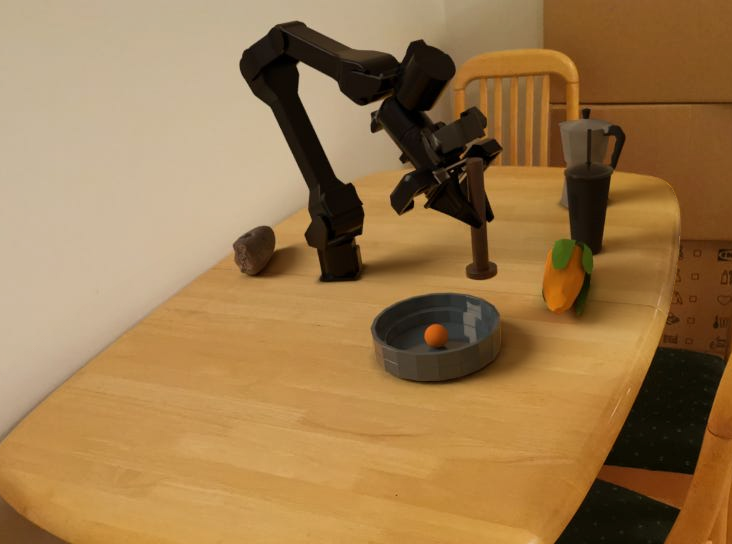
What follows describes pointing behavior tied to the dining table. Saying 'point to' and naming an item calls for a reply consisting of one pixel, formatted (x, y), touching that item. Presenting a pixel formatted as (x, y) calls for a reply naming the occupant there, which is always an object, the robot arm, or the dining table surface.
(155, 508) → the dining table surface
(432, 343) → the ball
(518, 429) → the dining table surface
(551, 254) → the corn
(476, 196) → the stirring stick
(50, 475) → the dining table surface
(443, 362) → the bowl
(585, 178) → the drinking cup
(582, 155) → the coffeepot
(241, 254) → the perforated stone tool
